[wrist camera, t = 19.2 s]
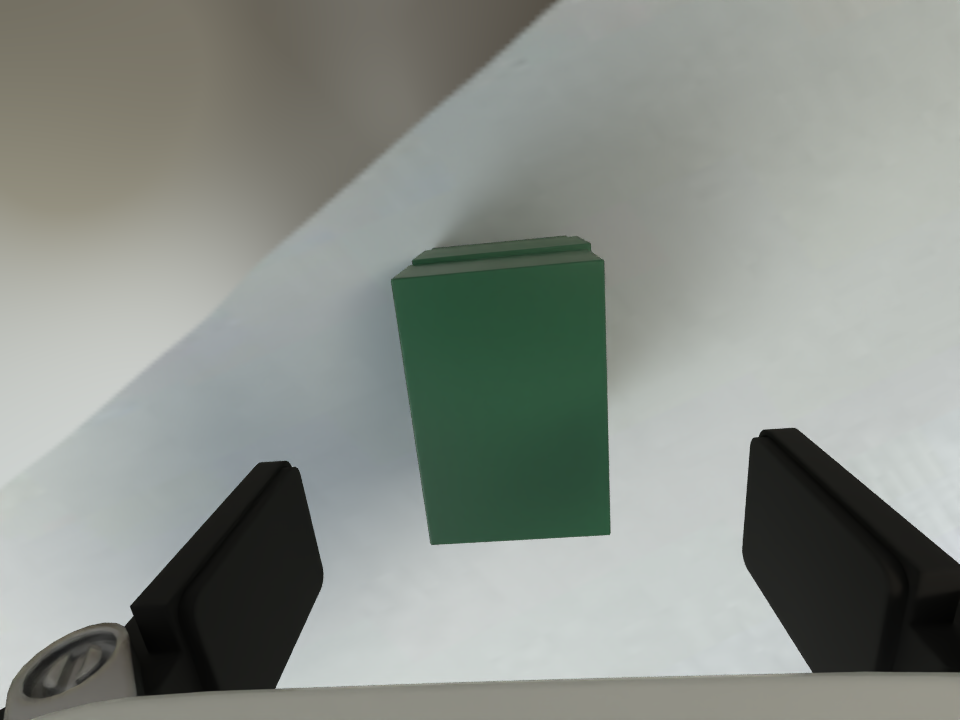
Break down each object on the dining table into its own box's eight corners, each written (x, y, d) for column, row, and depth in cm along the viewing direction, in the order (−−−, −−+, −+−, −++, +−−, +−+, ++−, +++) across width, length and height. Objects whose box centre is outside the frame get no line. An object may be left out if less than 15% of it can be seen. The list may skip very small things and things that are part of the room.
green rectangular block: (408, 265, 17) (390, 279, 14) (587, 248, 17) (604, 259, 14) (440, 495, 20) (430, 546, 17) (595, 486, 20) (611, 535, 17)
